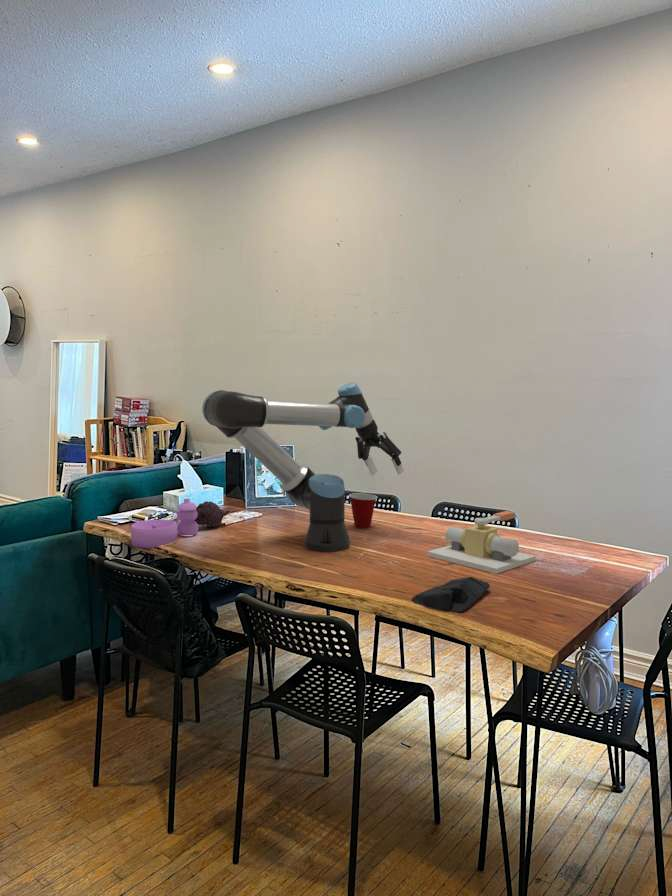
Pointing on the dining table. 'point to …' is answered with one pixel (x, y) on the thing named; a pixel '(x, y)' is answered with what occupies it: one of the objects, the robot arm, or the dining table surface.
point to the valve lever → (495, 518)
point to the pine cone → (210, 514)
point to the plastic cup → (362, 509)
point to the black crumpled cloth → (453, 595)
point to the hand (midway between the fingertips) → (387, 473)
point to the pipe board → (482, 562)
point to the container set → (165, 528)
